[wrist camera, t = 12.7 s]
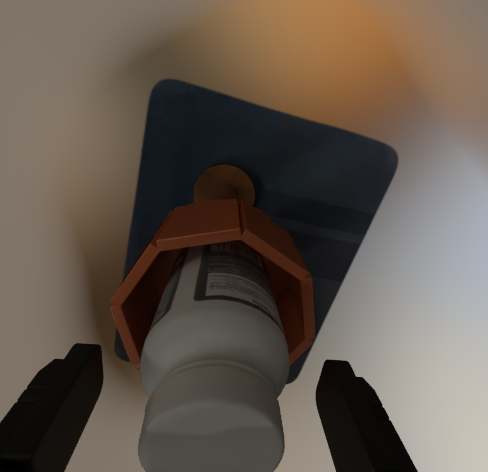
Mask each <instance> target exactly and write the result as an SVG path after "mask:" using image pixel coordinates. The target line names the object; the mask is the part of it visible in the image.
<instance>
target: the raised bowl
mask: <svg viewBox="0 0 488 472" xmlns="http://www.w3.org/2000/svg"><path fill="white" fill-rule="evenodd" d="M235 240H241V241H243V242H244V243H246V244H247V245H249V246H250V247H252V248H253V249H255V250H256V251H258V252H259V253H261V254H262V256H263V258H264V260H265V263H266V266H267V270H268V273H269V277H270V281H271V285H272V289H273V293H274V297H275V301H276V305H277V308H278V312H279V316H280V320H281V323H282V327H283V331H284V335H285V339H286V342H287V345H288V353H289V366H290V365H291V364H292V363H293V362H294V361H295V360H296V359H297V358H298V357H300V356H301V355H302V354H303V353H304V352H305V351H306V350H307V349H308V348H309V347H310V346H311V345H312V344H313V341H312V339H315V323H314V304H313V285H312V277H311V275H310V273H309V271H308V269H307V267H306V265H305V263H304V261H303V259H302V257H301V255H300V253H299V252H298V250H297V248H296V246H295V244H294V242H293V240H292V238H291V236H290V234H289V233H288V232H286V231H285V230H284V229H282V228H281V227H279V226H278V225H277V224H276V223H275V222H274V221H273V220H272V219H271V218H270V217H269V216H267V215H266V214H265V213H263V212H262V211H260V210H259V209H257V208H255V207H253V206H251V205H249V204H248V203H246V202H245V201H244V200H241V201H240V202H239V201H238V199H237V198H236V199H229V200H228V199H211V200H204V201H199V202H195V203H192V204H190V205H187V206H181V207H176V208H175V209H174V211H172V210H171V211H170V212H169V213H168V215H167V216H166V218H165V219H164V220H163V222H162V223H161V225H160V226H159V228H158V229H157V230H156V232H155V234H154V235H153V236H152V238H151V239H150V241H149V242H148V244H147V245H146V247H145V248H144V249H143V251H142V252H141V254H140V255H139V257H138V258H137V260H136V261H135V263H134V265H133V266H132V268H131V269H130V271H129V272H128V274H127V275H126V277H125V278H124V280H123V282H122V283H121V285H120V286H119V288H118V290H117V291H116V292H115V294H114V296H113V297H112V299H111V300H110V302H111V303H112V304H111V305H110V310H111V313H112V315H113V318H114V320H115V323H116V326H117V328H118V331H119V333H120V336H121V339H122V341H123V344H124V346H125V349H126V352H127V354H128V357H129V359H130V362H131V364H132V365H133V364H136V369H138V370H140V360H141V355H142V350H143V347H144V343H145V340H146V337H147V335H148V333H149V330H150V328H151V325H152V323H153V320H154V317H155V315H156V312H157V309H158V306H159V304H160V301H161V298H162V295H163V293H164V290H165V287H166V284H167V282H168V279H169V276H170V273H171V270H172V267H173V265H174V263H175V260H176V258H177V256H178V254H179V252H180V251H181V250H182V249H183V248H186V247H193V246H200V245H207V244H214V243H221V242H228V241H235Z"/></svg>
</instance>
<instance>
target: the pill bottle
mask: <svg viewBox="0 0 488 472" xmlns="http://www.w3.org/2000/svg"><path fill="white" fill-rule="evenodd" d="M288 374H289V353H288V345H287V342H286V339H285V335H284V331H283V327H282V323H281V320H280V316H279V312H278V308H277V305H276V301H275V297H274V293H273V289H272V285H271V281H270V277H269V273H268V270H267V266H266V263H265V260H264V258H263V256H262V254H261V253H259V252H258V251H256V250H255V249H253V248H252V247H250V246H249V245H247V244H246V243H244V242H243V241H241V240H235V241H228V242H221V243H214V244H207V245H200V246H193V247H186V248H183V249H182V250H181V251H180V252H179V254H178V256H177V258H176V260H175V263H174V265H173V267H172V270H171V273H170V276H169V279H168V282H167V284H166V287H165V290H164V293H163V295H162V298H161V301H160V304H159V306H158V309H157V312H156V315H155V317H154V320H153V323H152V325H151V328H150V330H149V333H148V335H147V337H146V340H145V343H144V347H143V350H142V355H141V360H140V375H141V380H142V384H143V386H144V389H145V391H146V393H147V395H148V396H149V399H148V402H147V405H146V409H145V417H144V421H143V425H142V430H141V434H140V438H139V444H138V456H139V460H140V463H141V465H142V467H143V468H144V470H145V471H146V472H273V471H274V470H275V469H276V468H277V466H278V465H279V463H280V461H281V459H282V457H283V453H284V447H285V446H284V433H283V426H282V420H281V414H280V407H279V403H278V400H277V398H278V396H279V395H280V394H281V392H282V390H283V388H284V386H285V384H286V381H287V378H288Z"/></svg>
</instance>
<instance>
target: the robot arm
mask: <svg viewBox="0 0 488 472" xmlns="http://www.w3.org/2000/svg"><path fill="white" fill-rule="evenodd" d="M102 385H103V364H102V351H101V346H100V345H97V344H96V345H95V344H81V343H77V344H75V345H74V346H73V347H72V348H71V350H70V351H69V353H68V354H67V356H66V357H65V358H64V359H54V360H53V361H52V362H50V363H49V364H48V365H46V366H45V367H44V368H42V369H41V370H40V371H39V372H38V373H37V374H36V376H35V377H34V378H33V380H32V381H31V382H30V384H29V385H28V386H27V389H26V390H24V392H23V393H22V394H21V396H20V397H19V399H18V401H17V403H15V404H14V405H13V406H12V408H11V409H10V411H9V412H8V413H7V415H6V416H5V417H4V419H3V420H2V421H1V423H0V472H64V471H65V469H66V466H67V465H68V462H69V460H70V458H71V456H72V454H73V451H74V449H75V447H76V445H77V443H78V441H79V439H80V436H81V434H82V432H83V430H84V428H85V426H86V424H87V422H88V419H89V417H90V415H91V413H92V411H93V409H94V406H95V404H96V402H97V400H98V398H99V395H100V392H101V389H102ZM316 405H317V409H318V413H319V416H320V419H321V423H322V426H323V429H324V433H325V436H326V439H327V442H328V446H329V449H330V452H331V456H332V459H333V462H334V466H335V469H336V472H418V471H417V469H416V468H415V466H414V464H413V462H412V460H411V458H410V456H409V454H408V452H407V451H406V449H405V447H404V445H403V443H402V441H401V439H400V437H399V435H398V434H397V432H396V430H395V428H394V426H393V424H392V422H391V421H390V420H389V417H388V415H387V413H386V411H385V409H384V408H383V407H382V403H381V401H380V400H379V398H378V396H377V394H376V392H375V390H374V389H373V388H372V387H371V386H370V385H369V384H368V383H367V382H366V381H365V379H364V378H363V377H356V376H355V374H354V372H353V369H352V367H351V365H350V364H349V362H347V361H341V360H326V361H325V362H324V365H323V368H322V372H321V375H320V378H319V382H318V385H317V388H316Z"/></svg>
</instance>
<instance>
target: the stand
mask: <svg viewBox="0 0 488 472" xmlns="http://www.w3.org/2000/svg"><path fill="white" fill-rule="evenodd" d="M236 198H237V199H238V201H239V202H240V201H241V200H244V201H245V202H246V203H248V204H249V205H251V206H253V205H254V201H255V189H254V185H253V182H252V180H251V178H250V177H249V175H248V174H247V173H246V172H245V171H244V170H242V169H241V168H239V167H237V166H235V165H232V164H225V163H223V164H216V165H213V166H211V167H209V168H208V169H206V170H205V171H204V172H203V173H202V174H201V175H200V176H199V178H198V180H197V182H196V184H195V188H194V201H195V202H199V201H204V200H211V199H228V200H229V199H236Z"/></svg>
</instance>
